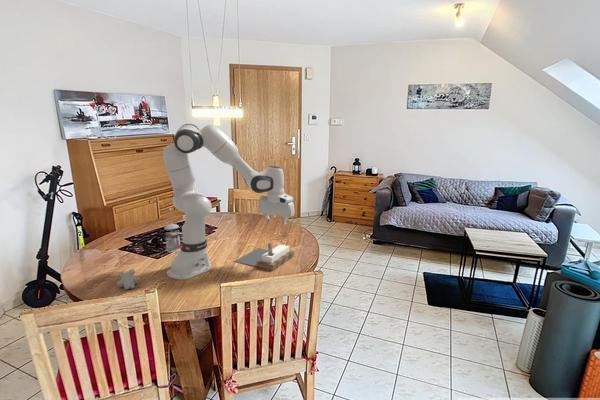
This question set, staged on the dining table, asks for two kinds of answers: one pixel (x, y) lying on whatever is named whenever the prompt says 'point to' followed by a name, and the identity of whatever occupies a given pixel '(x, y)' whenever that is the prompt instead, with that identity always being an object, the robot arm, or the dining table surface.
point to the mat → (252, 257)
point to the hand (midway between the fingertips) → (276, 222)
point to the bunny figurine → (127, 280)
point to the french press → (172, 238)
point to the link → (275, 253)
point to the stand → (276, 263)
